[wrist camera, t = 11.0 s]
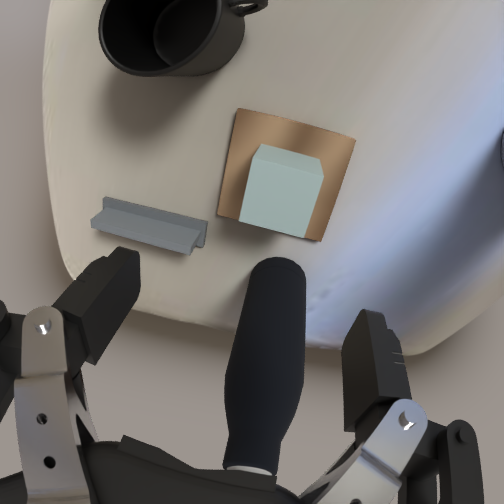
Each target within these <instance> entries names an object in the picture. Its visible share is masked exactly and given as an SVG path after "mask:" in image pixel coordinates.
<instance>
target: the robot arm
mask: <svg viewBox="0 0 504 504" xmlns="http://www.w3.org/2000/svg"><path fill="white" fill-rule="evenodd" d="M501 154H502V162H503V167H504V135H503V139H502V147H501ZM140 287H141V280H140V255H139V252H138V251H134V250H131V249H127V248H124V247H120V246H119V247H117V248H116V249H115V250H114V251H113V252H112V253H111V254H110V255H109V256H108V257H105V256H102V257H101V258H99V259H97V260H95V261H93V262H91V263H90V264H89V265H88V266H87V267H86V268H85V270H84V271H83V273H81V274H80V275H79V276H78V277H77V278H76V280H74V281H73V282H72V284H71V285H70V286H69V287H68V288H67V289H66V290H65V291H64V292H63V294H62V295H61V296H60V297H59V298H58V299H57V300H56V302H55V303H54V304H53V305H52V306H51V307H50V306H42V307H38V308H35V309H33V310H32V311H30V312H29V313H28V314H27V315H20V314H13V313H8V311H7V308H6V306H5V304H4V302H2V301H1V300H0V422H1V420H2V419H3V417H4V415H5V413H6V411H7V409H8V407H9V405H10V403H11V402H12V400H13V398H14V400H15V401H14V402H15V416H16V427H17V435H18V444H19V451H20V457H21V463H22V468H23V471H21V472H18V473H15V474H13V475H10V476H7V477H5V478H1V479H0V504H390V502H391V501H392V500H393V498H394V496H395V495H396V494H397V492H398V504H437V481H436V475H438V474H439V479H440V501H439V503H438V504H484V493H483V481H482V472H481V464H480V456H479V450H478V443H477V438H476V434H475V431H474V429H473V428H472V426H471V425H470V424H469V423H467V422H466V421H463V420H455V421H453V422H452V423H450V424H449V425H448V426H447V427H446V426H443V425H440V424H437V423H435V422H432V421H430V420H427V416H426V413H425V411H424V410H423V408H422V407H421V406H420V405H419V404H418V403H416V402H415V401H413V400H412V397H411V392H410V386H409V381H408V377H407V372H406V367H405V365H404V359H403V355H402V350H401V346H400V342H399V340H398V338H397V337H396V335H395V334H394V332H393V331H392V330H391V329H387V326H386V322H385V318H384V315H383V314H382V313H379V312H375V311H370V310H365V309H362V310H361V311H360V313H359V314H358V316H357V318H356V320H355V322H354V323H353V325H352V327H351V329H350V330H349V332H348V334H347V336H346V337H345V340H344V342H343V346H342V352H341V356H342V374H343V399H344V431H345V432H355V440H354V441H353V442H352V443H351V444H350V445H349V446H348V447H347V449H346V450H345V451H344V452H343V453H342V454H341V455H340V457H339V458H338V459H337V460H336V461H335V462H334V463H333V464H332V465H331V467H330V468H329V469H328V470H327V471H326V472H325V473H324V474H323V475H322V476H321V477H320V478H319V479H318V480H317V481H316V482H314V483H313V484H312V485H311V486H310V487H308V488H307V489H306V490H305V491H304V492H303V493H302V494H301V495H299V496H298V497H297V496H296V495H295V494H294V493H292V492H290V491H289V490H287V489H286V488H284V487H282V486H280V485H277V484H276V480H277V476H272V475H266V474H260V473H254V472H248V471H243V470H204V469H195V468H193V467H191V466H189V465H187V464H186V463H184V462H182V461H180V460H178V459H176V458H175V457H173V456H172V455H170V454H168V453H166V452H165V451H163V450H161V449H160V448H158V447H155V446H152V445H149V444H146V443H144V442H141V441H138V440H136V439H133V438H131V437H128V436H126V435H123V437H122V439H121V442H117V441H115V442H114V441H100V442H99V439H98V436H97V433H96V430H95V427H94V425H93V422H92V419H91V416H90V412H89V408H88V403H87V398H86V393H85V388H84V383H83V377H82V371H81V366H82V365H83V363H84V362H85V361H86V362H88V363H91V364H93V365H96V364H97V362H98V360H99V359H100V357H101V356H102V354H103V352H104V351H105V349H106V347H107V346H108V344H109V343H110V341H111V339H112V338H113V336H114V335H115V333H116V331H117V330H118V328H119V327H120V325H121V323H122V322H123V320H124V319H125V317H126V316H127V314H128V313H129V311H130V310H131V308H132V307H133V305H134V304H135V302H136V301H137V299H138V296H139V293H140Z"/></svg>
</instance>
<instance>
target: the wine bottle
mask: <svg viewBox="0 0 504 504" xmlns="http://www.w3.org/2000/svg"><path fill="white" fill-rule="evenodd" d="M305 328H306V277H305V273H304V271H303V270H302V269H301V267H300V266H299V265H298V264H296V263H295V262H294V261H292V260H289V259H286V258H281V257H273V258H267V259H265V260H263V261H261V262H259V263H258V264H257V265H256V266H255V267H254V269H253V271H252V273H251V277H250V280H249V284H248V288H247V292H246V296H245V300H244V304H243V308H242V312H241V316H240V320H239V323H238V327H237V331H236V335H235V340H234V343H233V347H232V351H231V355H230V359H229V362H228V366H227V370H226V374H225V387H224V394H225V395H224V398H225V399H224V401H225V410H226V417H227V424H228V430H229V438H228V442H227V446H226V451H225V455H224V460H223V464H222V465H223V468H224V469H225V470H243V471H248V472H254V473H260V474H266V475H272V476H275V475H276V474H277V470H278V462H279V455H280V446H281V441H282V439H283V437H284V436H285V434H286V432H287V430H288V428H289V426H290V424H291V422H292V420H293V418H294V415H295V413H296V409H297V406H298V403H299V400H300V396H301V392H302V388H303V383H304V361H305Z"/></svg>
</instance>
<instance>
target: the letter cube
mask: <svg viewBox="0 0 504 504" xmlns="http://www.w3.org/2000/svg"><path fill="white" fill-rule="evenodd" d="M323 178H324V175H323V171H322V167H321V163H320V159H317V158H314V157H310V156H307V155H303V154H299V153H296V152H292V151H288V150H285V149H281V148H277V147H273V146H269V145H265V144H261V145H260V147H259V148H258V150H257V151H256V153H255V155H254V156H253V159H252V163H251V168H250V172H249V176H248V181H247V185H246V190H245V194H244V199H243V204H242V208H241V213H240V217H239V221H240V222H244V223H248V224H252V225H256V226H259V227H263V228H267V229H271V230H275V231H278V232H282V233H286V234H290V235H293V236H297V237H301V238H304V236H305V233H306V230H307V227H308V224H309V221H310V218H311V215H312V212H313V209H314V206H315V203H316V200H317V197H318V194H319V191H320V188H321V185H322V181H323Z"/></svg>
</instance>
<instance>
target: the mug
mask: <svg viewBox="0 0 504 504" xmlns="http://www.w3.org/2000/svg"><path fill="white" fill-rule="evenodd" d="M240 4H252V5H249V6H245V7H243V6H240V7H239V5H240ZM267 5H268V0H106V2H105V4H104V6H103V9H102V11H101V15H100V19H99V28H98V33H99V41H100V44H101V47H102V50H103V52H104V54H105V55H106V57H107V58H108V60H109V61H110V62H111V63H112V64H113V65H114V66H115V67H117V68H118V69H120V70H122V71H124V72H126V73H128V74H131V75H135V76H143V77H159V76H199V75H204V74H207V73H210V72H212V71H215V70H217V69H219V68H220V67H221V66H223V65H224V64H226V63H227V62H228V61H229V60H230V59H231V58H232V57H233V56H234V55H235V53H236V52H237V50H238V49H239V47H240V45H241V43H242V40H243V37H244V32H245V22H244V16H245V15H248V14H252V13H255V12H258V11H260V10H262V9H264V8H265V7H267Z"/></svg>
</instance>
